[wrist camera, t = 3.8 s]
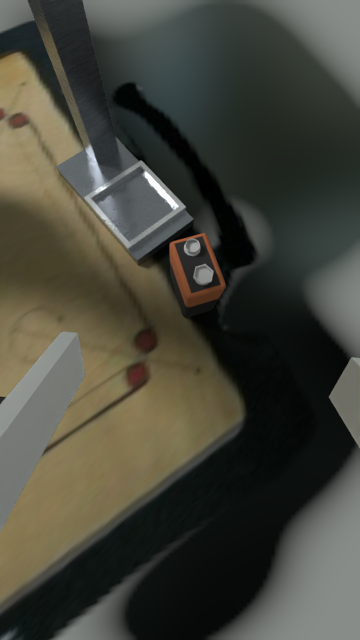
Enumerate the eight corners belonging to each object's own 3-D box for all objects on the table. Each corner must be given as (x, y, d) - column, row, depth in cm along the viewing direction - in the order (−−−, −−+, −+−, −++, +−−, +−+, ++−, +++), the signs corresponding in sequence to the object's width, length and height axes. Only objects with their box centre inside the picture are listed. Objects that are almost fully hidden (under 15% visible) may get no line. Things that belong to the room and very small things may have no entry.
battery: (183, 319, 33) (188, 296, 23) (169, 275, 34) (167, 236, 25) (213, 310, 33) (230, 283, 24) (198, 267, 35) (207, 225, 25)
